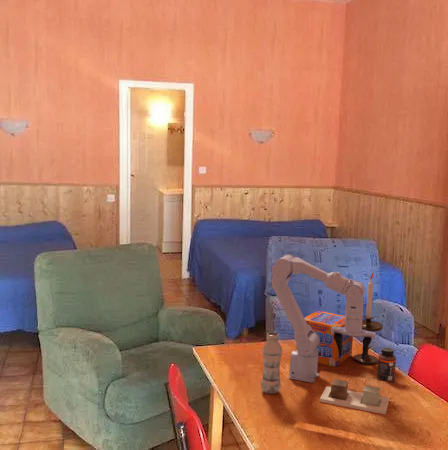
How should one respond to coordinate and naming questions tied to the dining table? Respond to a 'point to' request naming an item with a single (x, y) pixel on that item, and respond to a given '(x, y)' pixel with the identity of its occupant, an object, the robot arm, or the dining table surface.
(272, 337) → the plastic bottle
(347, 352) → the game box
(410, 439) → the dining table surface
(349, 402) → the base board
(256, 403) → the dining table surface
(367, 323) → the candlestick
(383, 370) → the supplement bottle
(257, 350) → the dining table surface
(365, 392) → the sage block
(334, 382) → the walnut block
